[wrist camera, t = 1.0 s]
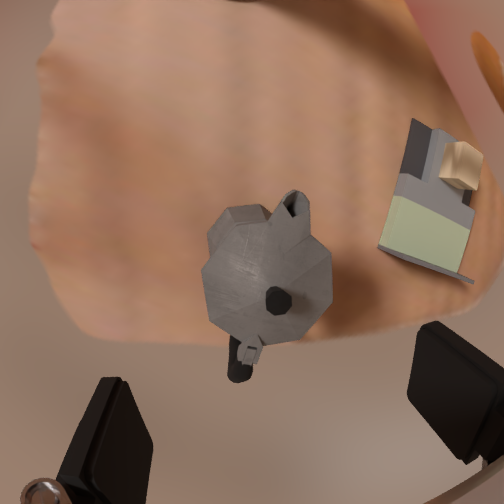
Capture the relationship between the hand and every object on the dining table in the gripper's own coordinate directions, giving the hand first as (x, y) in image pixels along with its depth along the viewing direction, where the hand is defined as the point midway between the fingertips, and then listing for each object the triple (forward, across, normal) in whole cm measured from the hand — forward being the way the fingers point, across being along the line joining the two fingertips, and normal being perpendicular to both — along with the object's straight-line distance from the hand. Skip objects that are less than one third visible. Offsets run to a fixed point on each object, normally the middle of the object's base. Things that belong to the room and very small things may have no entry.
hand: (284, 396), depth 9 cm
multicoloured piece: (+27, -28, -2) cm, 39 cm away
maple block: (+25, -30, -6) cm, 39 cm away
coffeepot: (+27, -1, +2) cm, 27 cm away
